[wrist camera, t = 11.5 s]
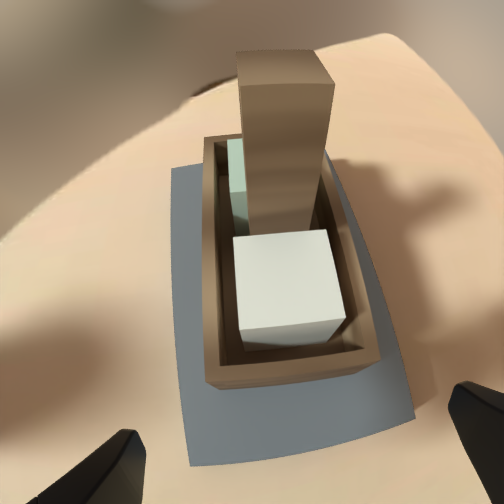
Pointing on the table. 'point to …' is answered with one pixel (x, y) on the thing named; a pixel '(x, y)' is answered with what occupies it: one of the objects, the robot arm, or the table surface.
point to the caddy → (279, 221)
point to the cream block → (286, 290)
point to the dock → (281, 396)
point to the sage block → (238, 187)
